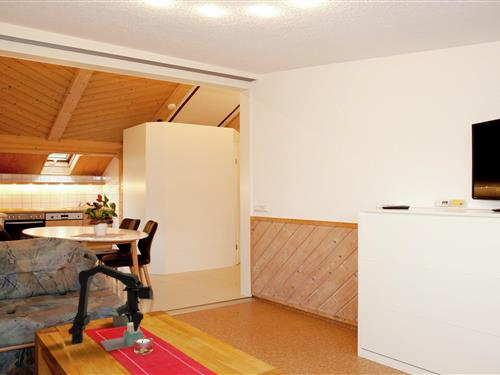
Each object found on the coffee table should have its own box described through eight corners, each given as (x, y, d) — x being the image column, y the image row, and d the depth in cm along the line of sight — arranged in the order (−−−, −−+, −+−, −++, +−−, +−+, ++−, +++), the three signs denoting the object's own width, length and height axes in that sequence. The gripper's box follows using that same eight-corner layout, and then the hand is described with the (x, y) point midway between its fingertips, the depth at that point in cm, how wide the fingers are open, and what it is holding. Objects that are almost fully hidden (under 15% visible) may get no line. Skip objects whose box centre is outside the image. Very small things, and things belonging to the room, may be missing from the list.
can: (134, 320, 275) (134, 309, 275) (130, 326, 263) (130, 315, 263) (115, 321, 274) (114, 310, 274) (110, 327, 262) (109, 315, 262)
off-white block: (127, 332, 234) (127, 323, 234) (136, 330, 236) (136, 321, 236) (129, 335, 229) (129, 325, 229) (139, 333, 232) (139, 324, 232)
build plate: (100, 343, 236) (100, 330, 236) (136, 336, 245) (135, 324, 245) (107, 352, 222) (106, 339, 222) (144, 345, 231) (144, 332, 231)
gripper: (112, 297, 237) (113, 326, 237) (121, 305, 221) (122, 336, 221) (133, 294, 242) (134, 323, 242) (143, 302, 226) (144, 332, 226)
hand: (133, 328), depth 233 cm, fingers open, 9 cm apart
